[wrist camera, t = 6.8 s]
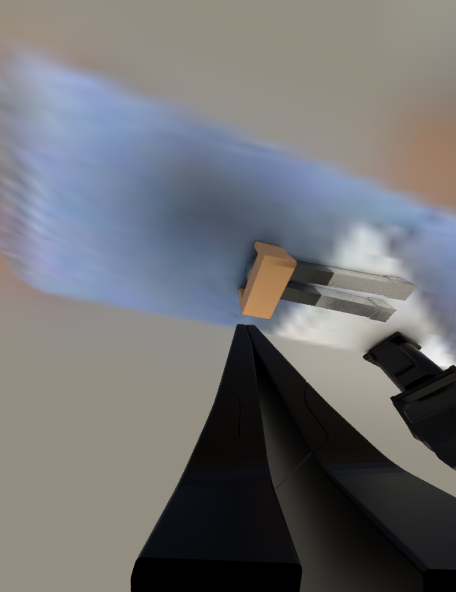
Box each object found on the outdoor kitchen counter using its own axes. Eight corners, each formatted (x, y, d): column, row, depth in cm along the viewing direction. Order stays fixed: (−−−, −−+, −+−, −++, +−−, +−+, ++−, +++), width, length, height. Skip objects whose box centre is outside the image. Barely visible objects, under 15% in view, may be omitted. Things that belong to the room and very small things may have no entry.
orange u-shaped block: (238, 292, 22) (242, 314, 18) (255, 240, 18) (264, 254, 15) (261, 297, 22) (269, 319, 19) (282, 247, 19) (297, 262, 15)
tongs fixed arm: (240, 284, 21) (242, 293, 20) (251, 250, 19) (255, 258, 17) (373, 312, 25) (386, 323, 23) (395, 286, 23) (411, 296, 21)
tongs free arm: (283, 273, 21) (288, 281, 19) (290, 257, 20) (296, 263, 18) (392, 292, 23) (405, 300, 21) (403, 278, 22) (417, 286, 20)
